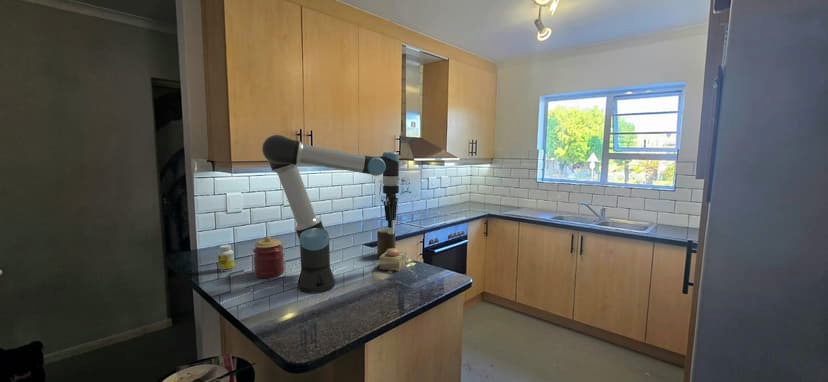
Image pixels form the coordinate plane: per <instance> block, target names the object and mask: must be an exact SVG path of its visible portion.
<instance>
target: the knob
mask: <svg viewBox="0 0 828 382" xmlns="http://www.w3.org/2000/svg"><path fill="white" fill-rule="evenodd" d="M400 252H401V251H400V249H399V248H396V247H395V248H390V249H387V250H386V255H387V256H395V257H396V256H398V255H399V254H400Z"/></svg>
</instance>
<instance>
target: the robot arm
mask: <svg viewBox="0 0 828 382" xmlns="http://www.w3.org/2000/svg"><path fill="white" fill-rule="evenodd" d="M261 149H262V154H263V156H264V158H265V159H266V160H267V161H268V164H269V166H270V168H271V171H272V172H274V173H276V174H277V176H278V179H279V181H280V184H281V186H282V188H283V191H284V194H285V196H286V200H287V201H288V205H289V207H290V210H291V211H292V215H293V217H294V220H295V222H296V227H295V228H294V229H295V232H296V235H297V237H298V239H299V250H300V251H299V252H300V254H299V255H300V273H299V277H298V280H297V282H296V283H297V284H296V285H297V291H299V292H301V293H304V294H320V293H324V292H326V291H329V290H331V289H333V288H334V287H335V285H336V279H335V276H334V274H333V271H332V268H331V259H330V234H329V232H328V231H327V230H326V229H325V227H324V225H323V222H322V219H320V218H318V217H317V216H316V214H315V211H314V208H313V206H312V202H311V199H310V197H309V194H308V192H307V189H306V187H305V185H304V181H303V179H302V176H301V173H300V171H299V168H298V166H299V165H300V164H304V165H309V166H316V167H322V168H323V167H324V168H328V169H336V170H340V171H341V170H342V171H347V172H355V173H359V174H365V175H371V176H375V177H377V176H378V177H379V176H381V175H382V194H385V200H383V206H384V216H385V221H387V229H388V234H394V230H395V221H396V220H397V210H398V208H397V207H398V201H399V198H398V197H397V194H399V192H400V190H399V189H400V187H399V184H400V177H399V173H400V171H399V170H400V169H399V168H400V158H399V157H400V156H399V153H398V152H395V151H393V152H392V151H386V152H385V151H384V152H383V153H382V155H381V156H373V155H371V156H370V155H364V154H359V153H353V152H347V151H341V150H337V149H331V148H326V147H320V146H315V145H308V144H303V143H302V142H301V141H300V140H296V139H291V138H288V136H284V135H280V134H273V135H271V136H269V137H267V138H265V140H264V142H263V144H262V148H261Z"/></svg>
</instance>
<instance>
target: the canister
mask: <svg viewBox="0 0 828 382" xmlns="http://www.w3.org/2000/svg"><path fill="white" fill-rule="evenodd" d="M253 246H254V248H253V250H252V253H253V257H252V259H253V268H254V269H253V273H254V277H256V278H259V279H272V278H275V277H276V278H277V277H279V276H281V275H283V274H284V272H285V264H284V263H285V260H284V256H285V254H284V252H283V249H284V246H283V245H282V242H281V241H280V240H278V238H277V239H276V238H271V236H267V235H266V236H265V237H264V239H261V240H258V241H257V242H256V243H254V245H253Z"/></svg>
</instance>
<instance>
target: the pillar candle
mask: <svg viewBox="0 0 828 382" xmlns="http://www.w3.org/2000/svg"><path fill="white" fill-rule="evenodd" d="M376 232H377V233H376V235H377V238H376V239H377V240H376V242H377V243H376V246H377V248H376V249H377V251H376V252H377V256H378V258H379V257H380V256H381V255H382V254H384V253H385V252H386V250H387V249H390V248H396V229H394V234H388V228H379V229H377V230H376Z"/></svg>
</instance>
